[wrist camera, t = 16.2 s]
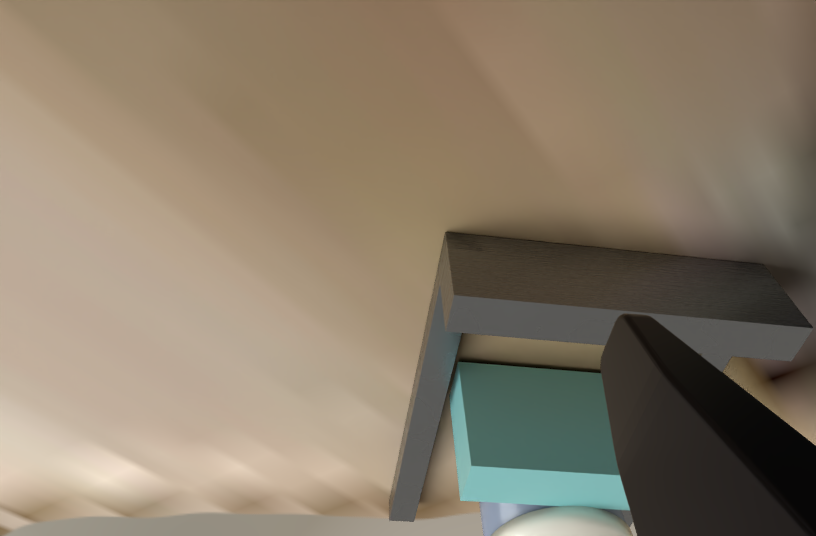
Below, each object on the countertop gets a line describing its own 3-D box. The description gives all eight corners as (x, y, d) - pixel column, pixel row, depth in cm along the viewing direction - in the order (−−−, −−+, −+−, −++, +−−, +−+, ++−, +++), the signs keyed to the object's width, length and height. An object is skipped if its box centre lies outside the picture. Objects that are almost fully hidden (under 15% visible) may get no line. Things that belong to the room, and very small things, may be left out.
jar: (565, 499, 32) (594, 614, 27) (452, 479, 30) (463, 595, 26) (625, 423, 28) (668, 539, 24) (501, 397, 27) (523, 514, 23)
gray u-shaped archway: (445, 231, 23) (454, 295, 20) (763, 264, 24) (813, 328, 21) (389, 501, 32) (389, 570, 29) (620, 515, 33) (641, 582, 31)
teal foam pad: (457, 361, 26) (471, 465, 22) (665, 378, 27) (714, 481, 23) (449, 395, 27) (460, 500, 23) (648, 410, 28) (691, 514, 24)
